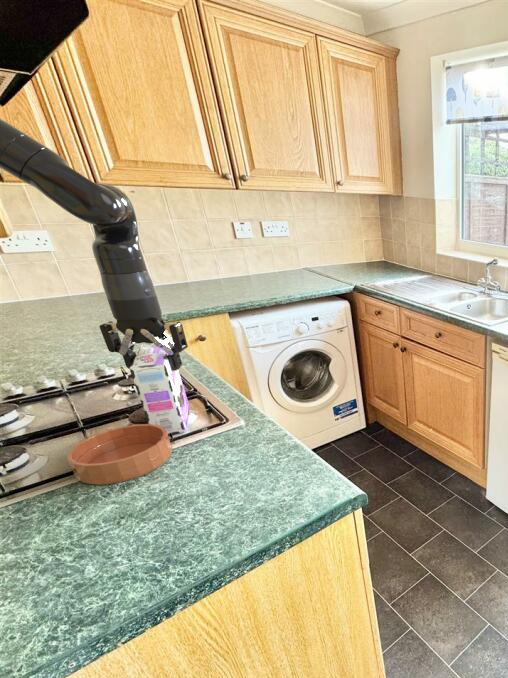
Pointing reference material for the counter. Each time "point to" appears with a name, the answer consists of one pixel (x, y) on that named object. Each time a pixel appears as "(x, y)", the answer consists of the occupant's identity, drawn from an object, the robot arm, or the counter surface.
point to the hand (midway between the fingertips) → (156, 369)
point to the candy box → (160, 390)
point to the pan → (120, 454)
